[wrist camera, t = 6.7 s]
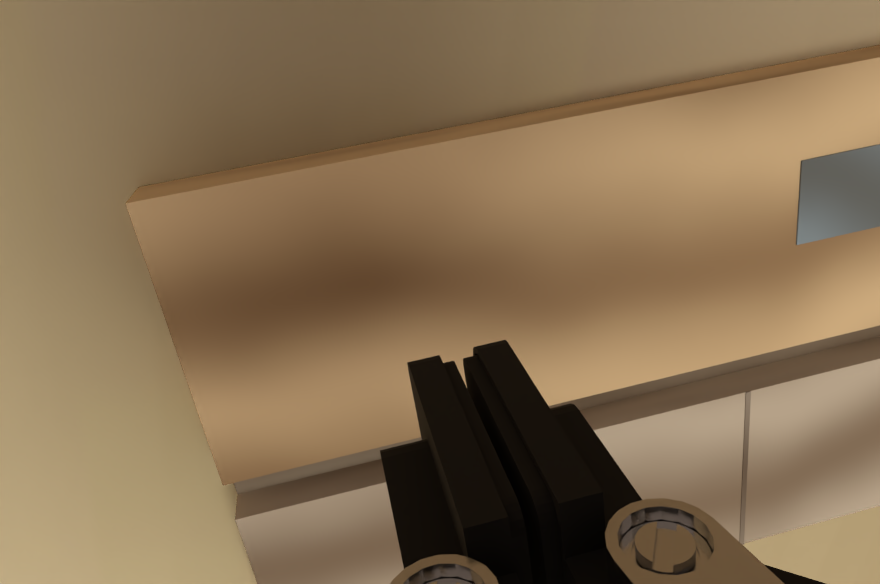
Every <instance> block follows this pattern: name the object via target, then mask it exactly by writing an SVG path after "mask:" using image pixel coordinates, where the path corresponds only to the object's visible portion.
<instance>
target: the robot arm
mask: <svg viewBox="0 0 880 584" xmlns="http://www.w3.org/2000/svg"><path fill="white" fill-rule="evenodd" d="M407 365H408V372H409V377H410V382H411V387H412V392H413V397H414V403H415V408H416V413H417V418H418V423H419V428H420V433H421V439H422V440H420V441H416V442H412V443H408V444H404V445H400V446H396V447H392V448H388V449H384V450H380V454H381V459H382V464H383V469H384V474H385V479H386V484H387V489H388V494H389V498H390V503H391V508H392V513H393V518H394V523H395V528H396V532H397V537H398V542H399V547H400V552H401V557H402V562H403V566H404V570H402V571H401V572H400V573H399V574H398V575H397V576H396V577H395V578H394V579H393V580H392V582H391V583H390V584H825V583H822V582H819V581H815V580H812V579H809V578H806V577H803V576H799V575H796V574H793V573H790V572H786V571H783V570H780V569H777V568H773V567H770V566H767V565H764V564H763V563H761V562H760V561H759V560H758V559H757V558H756V557H755V556H754V555H753V554H752V553H751V552H750V551H749V550H747V549H746V548H745V547H744V546H743V545H742V544H741V543H740V542H739V541H738V540H737V539H736V538H734V537H733V536H732V535H731V534H730V533H729V532H728V531H727V530H726V529H725V528H724V527H723V526H721V525H720V524H719V523H718V522H717V521H716V520H715V519H714V518H713V517H711V516H710V515H708V514H707V513H706V512H704V511H703V510H701V509H700V508H698V507H695V506H693V505H690V504H688V503H685V502H683V501H677V500H672V499H666V498H657V499H644V500H642V499H641V497H640V496H639V494H638V493H637V492H636V490H635V489H634V487H633V486H632V485H631V483H630V482H629V480H628V479H627V477H626V476H625V475H624V473H623V472H622V470H621V469H620V467H619V466H618V465H617V463H616V462H615V460H614V459H613V457H612V456H611V455H610V453H609V452H608V450H607V449H606V447H605V446H604V445H603V443H602V442H601V440H600V439H599V438H598V436H597V435H596V433H595V432H594V430H593V429H592V428H591V426H590V425H589V423H588V422H587V420H586V419H585V418H584V416H583V415H582V413H581V412H580V410H579V409H578V408H577V407H576V406H575V405H574V404H571V403H570V404H566V405H562V406H558V407H554V408H549V406H548V405H547V403H546V401H545V400H544V398H543V397H542V395H541V394H540V392H539V390H538V389H537V387H536V386H535V384H534V383H533V381H532V379H531V378H530V376H529V375H528V373H527V371H526V370H525V368H524V367H523V365H522V364H521V362H520V360H519V359H518V357H517V356H516V354H515V353H514V351H513V349H512V348H511V346H510V345H509V343H508V342H507V341H506V340H502V341H497V342H493V343H489V344H484V345H480V346H476V347H474V348H473V356H471V357H467V358H463V366H464V373H465V379H466V385H465V383H464V381H463V379H462V377H461V374H460V372H459V370H458V368H457V366H456V363H455V362H454V361H449V362H445V363H443V362H442V359H441V357H440V355H437V356H433V357H429V358H424V359H420V360H416V361H411V362H407ZM466 386H467V388H466Z"/></svg>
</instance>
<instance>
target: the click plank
mask: <svg viewBox="0 0 880 584" xmlns="http://www.w3.org/2000/svg"><path fill="white" fill-rule="evenodd" d="M126 207H127V210H128V213H129V216H130V218H131V221H132V224H133V227H134V230H135V233H136V236H137V239H138V242H139V244H140V247H141V250H142V253H143V256H144V259H145V262H146V265H147V267H148V270H149V273H150V276H151V279H152V282H153V285H154V288H155V291H156V293H157V296H158V299H159V302H160V305H161V308H162V311H163V314H164V317H165V319H166V322H167V325H168V328H169V331H170V334H171V337H172V340H173V343H174V345H175V348H176V351H177V354H178V357H179V360H180V363H181V366H182V369H183V371H184V374H185V377H186V380H187V383H188V386H189V389H190V392H191V395H192V397H193V400H194V403H195V406H196V409H197V412H198V415H199V418H200V421H201V423H202V426H203V429H204V432H205V435H206V438H207V441H208V444H209V447H210V449H211V452H212V455H213V458H214V461H215V464H216V467H217V470H218V473H219V475H220V478H221V481H222V484H223V485H227V484H231V483H235V482H239V481H243V480H247V479H252V478H256V477H260V476H264V475H268V474H272V473H276V472H280V471H284V470H288V469H293V468H297V467H301V466H305V465H309V464H313V463H317V462H321V461H325V460H330V459H334V458H338V457H342V456H346V455H350V454H354V453H358V452H362V451H366V450H371V449H375V448H379V447H383V446H387V445H391V444H395V443H399V442H403V441H407V440H412V439H416V438H420V437H421V433H420V428H419V423H418V418H417V413H416V408H415V403H414V397H413V392H412V387H411V382H410V377H409V372H408V365H407V362H411V361H416V360H420V359H424V358H429V357H433V356H437V355H440V357H441V359H442V362H443V363H445V362H449V361H454V362H455V363H456V366H457V368H458V370H459V372H460V374H461V377H462V379H463V381H464V383H465V385H466V379H465V373H464V366H463V358H467V357H471V356H473V348H474V347H476V346H480V345H484V344H489V343H493V342H497V341H502V340H506V341H507V342H508V343H509V345H510V346H511V348H512V349H513V351H514V353H515V354H516V356H517V357H518V359H519V360H520V362H521V364H522V365H523V367H524V368H525V370H526V371H527V373H528V375H529V376H530V378H531V379H532V381H533V383H534V384H535V386H536V387H537V389H538V390H539V392H540V394H541V395H542V397H543V398H544V400H545V401H546V403H547V405H548V406H551V405H555V404H559V403H563V402H567V401H572V400H576V399H580V398H584V397H588V396H592V395H596V394H600V393H604V392H608V391H613V390H617V389H621V388H625V387H629V386H633V385H637V384H641V383H645V382H649V381H654V380H658V379H662V378H666V377H670V376H674V375H678V374H682V373H686V372H690V371H695V370H699V369H703V368H707V367H711V366H715V365H719V364H723V363H727V362H732V361H736V360H740V359H744V358H748V357H752V356H756V355H760V354H764V353H768V352H773V351H777V350H781V349H785V348H789V347H793V346H797V345H801V344H805V343H809V342H814V341H818V340H822V339H826V338H830V337H834V336H838V335H842V334H846V333H850V332H855V331H859V330H863V329H867V328H871V327H875V326H879V325H880V45H877V46H872V47H866V48H861V49H856V50H851V51H846V52H840V53H835V54H830V55H825V56H820V57H814V58H809V59H804V60H799V61H793V62H788V63H783V64H778V65H773V66H767V67H762V68H757V69H752V70H747V71H741V72H736V73H731V74H726V75H720V76H715V77H710V78H705V79H700V80H694V81H689V82H684V83H679V84H674V85H668V86H663V87H658V88H653V89H647V90H642V91H637V92H632V93H627V94H621V95H616V96H611V97H606V98H601V99H595V100H590V101H585V102H580V103H574V104H569V105H564V106H559V107H554V108H548V109H543V110H538V111H533V112H528V113H522V114H517V115H512V116H507V117H501V118H496V119H491V120H486V121H481V122H475V123H470V124H465V125H460V126H455V127H449V128H444V129H439V130H434V131H428V132H423V133H418V134H413V135H408V136H402V137H397V138H392V139H387V140H382V141H376V142H371V143H366V144H361V145H355V146H350V147H345V148H340V149H335V150H329V151H324V152H319V153H314V154H309V155H303V156H298V157H293V158H288V159H282V160H277V161H272V162H267V163H262V164H256V165H251V166H246V167H241V168H236V169H230V170H225V171H220V172H215V173H209V174H204V175H199V176H194V177H189V178H183V179H178V180H173V181H168V182H163V183H157V184H152V185H147V186H142V187H138V189H137V190H136V191H135V192H134V194H133V195H132V196H131V197H130V199H129V200H128V201H127V202H126ZM466 388H467V386H466Z"/></svg>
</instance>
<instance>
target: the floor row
mask: <svg viewBox="0 0 880 584" xmlns="http://www.w3.org/2000/svg"><path fill="white" fill-rule="evenodd" d="M570 403H571V404H574V405H575V406H576V407H577V408H578V409H579V410H580V412H581V413H582V415H583V416H584V418H585V419H586V420H587V422H588V423H589V425H590V426H591V428H592V429H593V430H594V432H595V433H596V435H597V436H598V438H599V439H600V440H601V442H602V443H603V445H604V446H605V447H606V449H607V450H608V452H609V453H610V455H611V456H612V457H613V459H614V460H615V462H616V463H617V465H618V466H619V467H620V469H621V470H622V472H623V473H624V475H625V476H626V477H627V479H628V480H629V482H630V483H631V485H632V486H633V487H634V489H635V490H636V492H637V493H638V494H639V496H640V497H641V499H642V500H644V499H657V498H666V499H672V500H677V501H683V502H685V503H688V504H690V505H693V506H695V507H698V508H700V509H701V510H703V511H704V512H706V513H707V514H708V515H710V516H711V517H713V518H714V519H715V520H716V521H717V522H718V523H719V524H720V525H721V526H723V527H724V528H725V529H726V530H727V531H728V532H729V533H730V534H731V535H732V536H733V537H734V538H736V539H737V540H738V541H739V542H740V543H741V544H742V545H743V544H744V543H747V542H751V541H755V540H758V539H762V538H765V537H769V536H773V535H776V534H780V533H783V532H787V531H791V530H794V529H798V528H802V527H805V526H809V525H812V524H816V523H820V522H823V521H827V520H830V519H834V518H838V517H841V516H845V515H848V514H852V513H856V512H859V511H863V510H866V509H870V508H874V507H877V506H880V325H879V326H875V327H871V328H867V329H863V330H859V331H855V332H850V333H846V334H842V335H838V336H834V337H830V338H826V339H822V340H818V341H814V342H809V343H805V344H801V345H797V346H793V347H789V348H785V349H781V350H777V351H773V352H768V353H764V354H760V355H756V356H752V357H748V358H744V359H740V360H736V361H732V362H727V363H723V364H719V365H715V366H711V367H707V368H703V369H699V370H695V371H690V372H686V373H682V374H678V375H674V376H670V377H666V378H662V379H658V380H654V381H649V382H645V383H641V384H637V385H633V386H629V387H625V388H621V389H617V390H613V391H608V392H604V393H600V394H596V395H592V396H588V397H584V398H580V399H576V400H572V401H567V402H563V403H559V404H555V405H551V406H549V408H554V407H558V406H562V405H566V404H570ZM420 440H422V439H421V437H420V438H416V439H412V440H407V441H403V442H399V443H395V444H391V445H387V446H383V447H379V448H375V449H371V450H366V451H362V452H358V453H354V454H350V455H346V456H342V457H338V458H334V459H330V460H325V461H321V462H317V463H313V464H309V465H305V466H301V467H297V468H293V469H288V470H284V471H280V472H276V473H272V474H268V475H264V476H260V477H256V478H252V479H247V480H243V481H239V482H235V483H234V485H235V488H236V491H237V494H238V495H237V506H236V516H235V521H236V524H237V527H238V530H239V532H240V535H241V538H242V541H243V544H244V547H245V549H246V552H247V555H248V558H249V561H250V564H251V566H252V569H253V572H254V575H255V578H256V581H257V584H390V583H391V582H392V580H393V579H394V578H395V577H396V576H397V575H398V574H399V573H400V572H401V571H402V570H404V566H403V562H402V557H401V552H400V547H399V542H398V537H397V532H396V528H395V523H394V518H393V513H392V508H391V503H390V498H389V494H388V489H387V484H386V479H385V474H384V469H383V464H382V459H381V454H380V450H384V449H388V448H392V447H396V446H400V445H404V444H408V443H412V442H416V441H420Z"/></svg>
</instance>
